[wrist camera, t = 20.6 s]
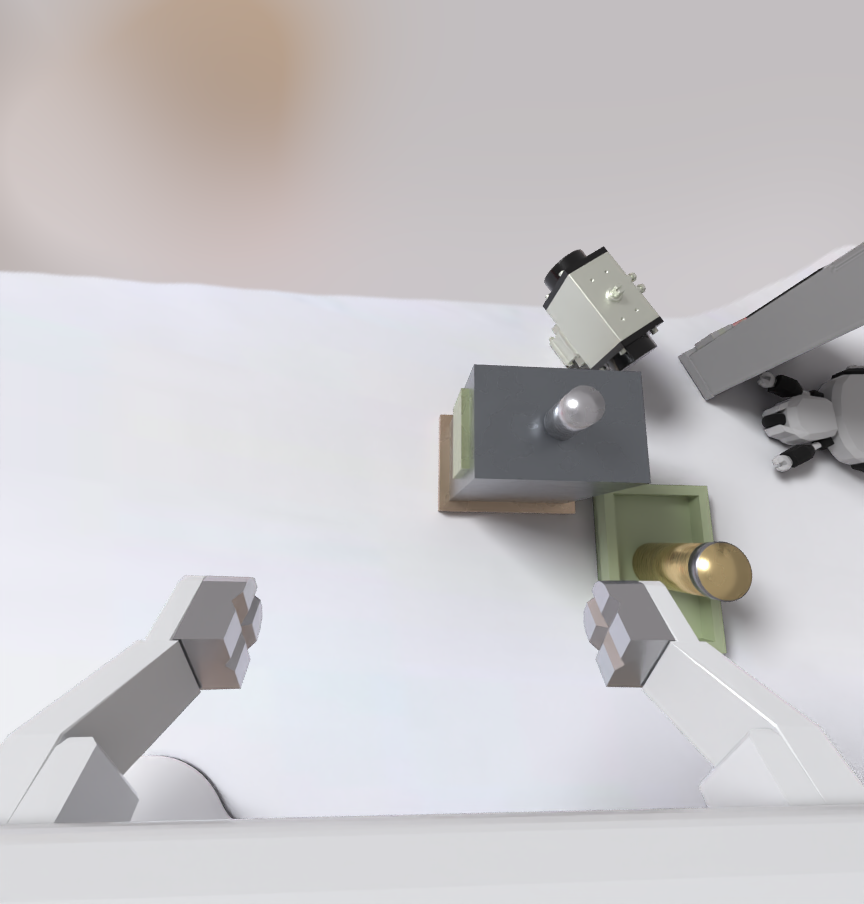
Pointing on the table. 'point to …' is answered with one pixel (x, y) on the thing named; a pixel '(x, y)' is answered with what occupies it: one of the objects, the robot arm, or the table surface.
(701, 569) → the cartridge
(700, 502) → the olive tray
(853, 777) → the robot arm
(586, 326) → the pneumatic valve
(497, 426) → the mounted unit
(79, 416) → the table surface
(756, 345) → the upright grey panel
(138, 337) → the table surface
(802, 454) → the robot toy
